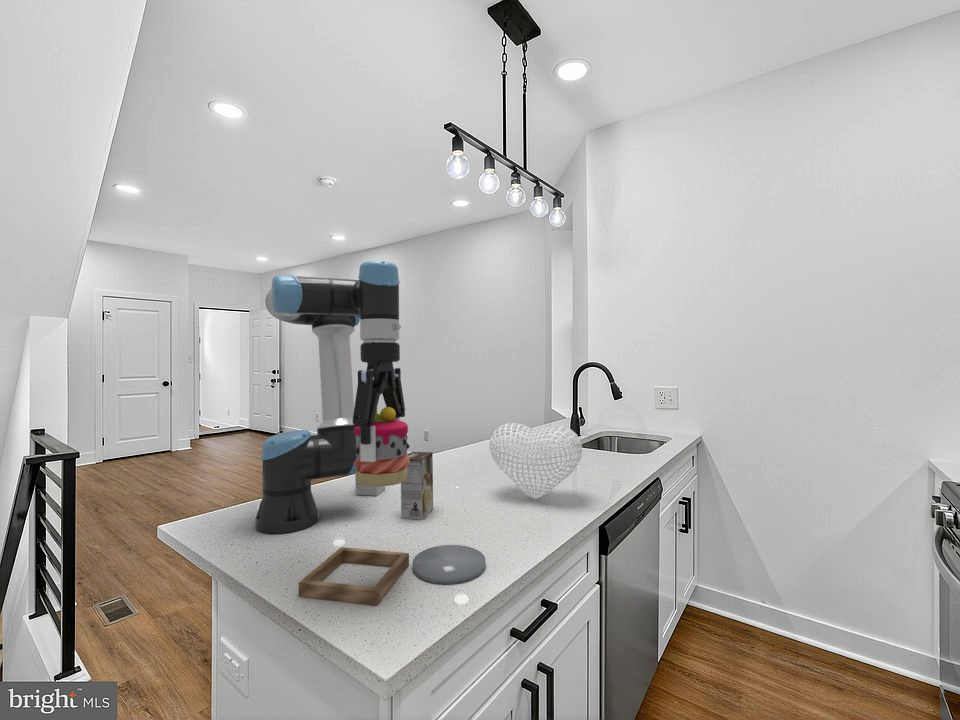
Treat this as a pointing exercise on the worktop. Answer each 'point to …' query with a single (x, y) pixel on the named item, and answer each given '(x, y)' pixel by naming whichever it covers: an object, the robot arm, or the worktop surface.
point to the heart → (537, 431)
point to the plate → (448, 564)
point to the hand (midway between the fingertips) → (381, 454)
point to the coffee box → (418, 486)
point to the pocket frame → (354, 593)
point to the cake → (384, 452)
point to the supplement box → (367, 489)
